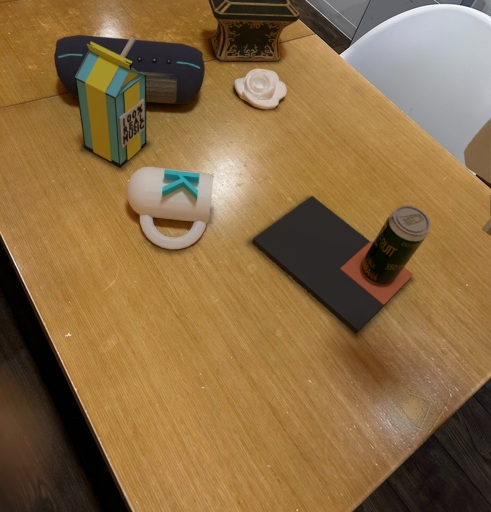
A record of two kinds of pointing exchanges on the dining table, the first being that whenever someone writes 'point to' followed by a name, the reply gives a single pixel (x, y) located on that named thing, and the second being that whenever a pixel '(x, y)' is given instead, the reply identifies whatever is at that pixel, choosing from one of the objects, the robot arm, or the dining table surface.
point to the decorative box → (250, 28)
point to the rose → (261, 88)
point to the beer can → (395, 244)
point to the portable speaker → (139, 65)
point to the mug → (171, 202)
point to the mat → (328, 262)
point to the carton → (111, 104)
